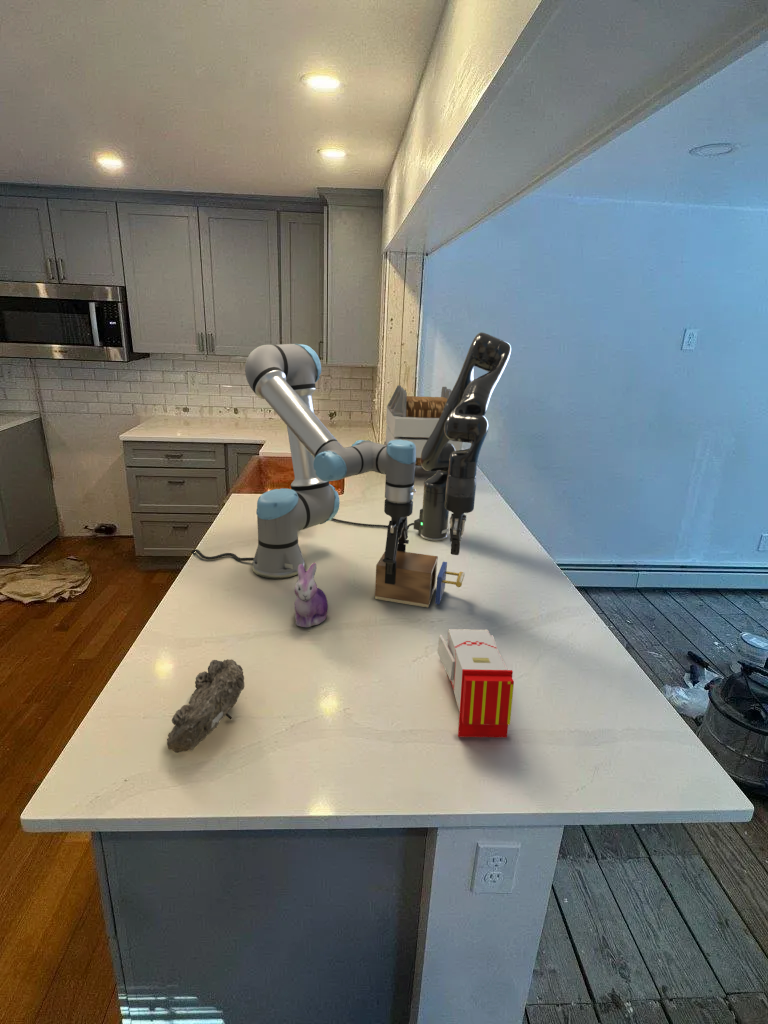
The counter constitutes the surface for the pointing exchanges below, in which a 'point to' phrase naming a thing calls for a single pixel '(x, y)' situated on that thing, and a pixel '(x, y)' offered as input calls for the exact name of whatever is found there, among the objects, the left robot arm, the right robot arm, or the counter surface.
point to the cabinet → (407, 579)
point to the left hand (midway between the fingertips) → (394, 574)
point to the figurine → (309, 599)
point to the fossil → (206, 705)
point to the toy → (478, 682)
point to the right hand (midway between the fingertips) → (454, 553)
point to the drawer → (443, 581)
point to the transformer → (415, 418)
